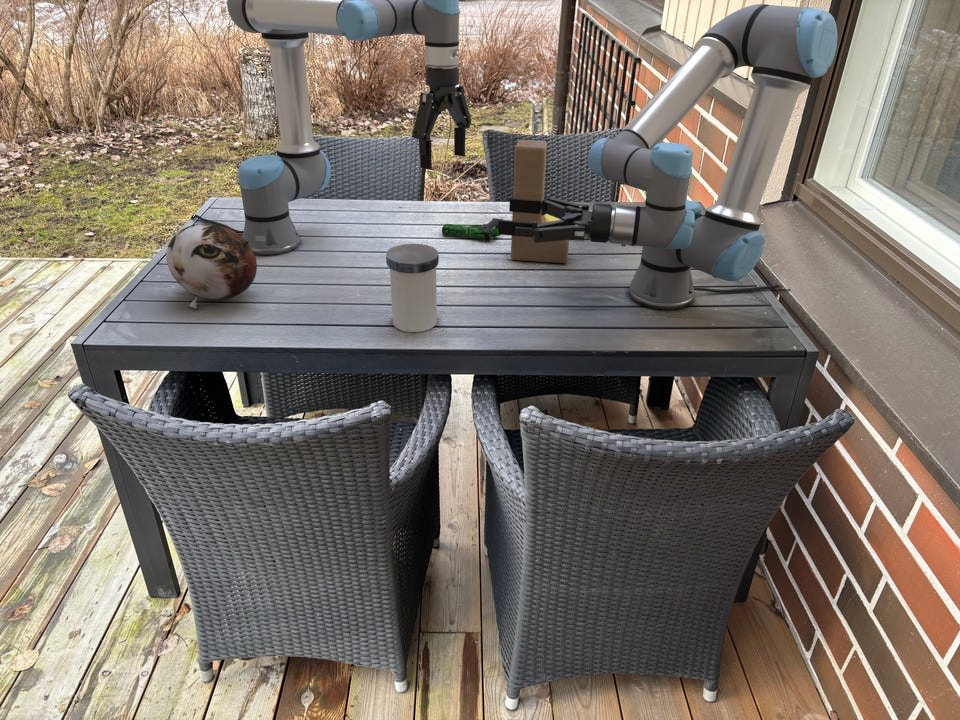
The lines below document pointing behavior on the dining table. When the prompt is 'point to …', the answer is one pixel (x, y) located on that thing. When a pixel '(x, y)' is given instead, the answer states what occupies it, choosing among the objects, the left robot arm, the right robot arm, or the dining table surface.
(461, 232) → the handgun
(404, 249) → the lid
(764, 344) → the dining table surface
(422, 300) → the jar
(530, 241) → the decorative block
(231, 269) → the cat face ball
